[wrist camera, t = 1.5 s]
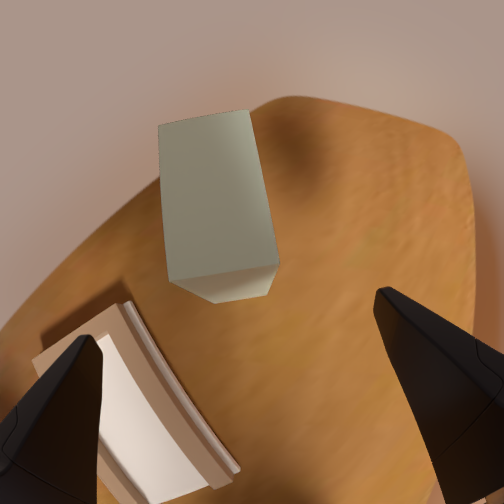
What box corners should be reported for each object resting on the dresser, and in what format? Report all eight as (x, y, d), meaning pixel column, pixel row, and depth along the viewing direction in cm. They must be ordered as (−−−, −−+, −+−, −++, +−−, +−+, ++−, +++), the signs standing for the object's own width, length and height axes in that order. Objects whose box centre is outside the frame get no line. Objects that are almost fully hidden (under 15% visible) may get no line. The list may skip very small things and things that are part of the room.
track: (240, 467, 17) (239, 479, 16) (135, 507, 16) (127, 518, 15) (131, 301, 20) (121, 299, 18) (41, 361, 19) (27, 362, 17)
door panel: (266, 295, 20) (280, 263, 10) (214, 303, 20) (168, 281, 9) (251, 209, 22) (248, 109, 11) (202, 218, 21) (158, 125, 11)
